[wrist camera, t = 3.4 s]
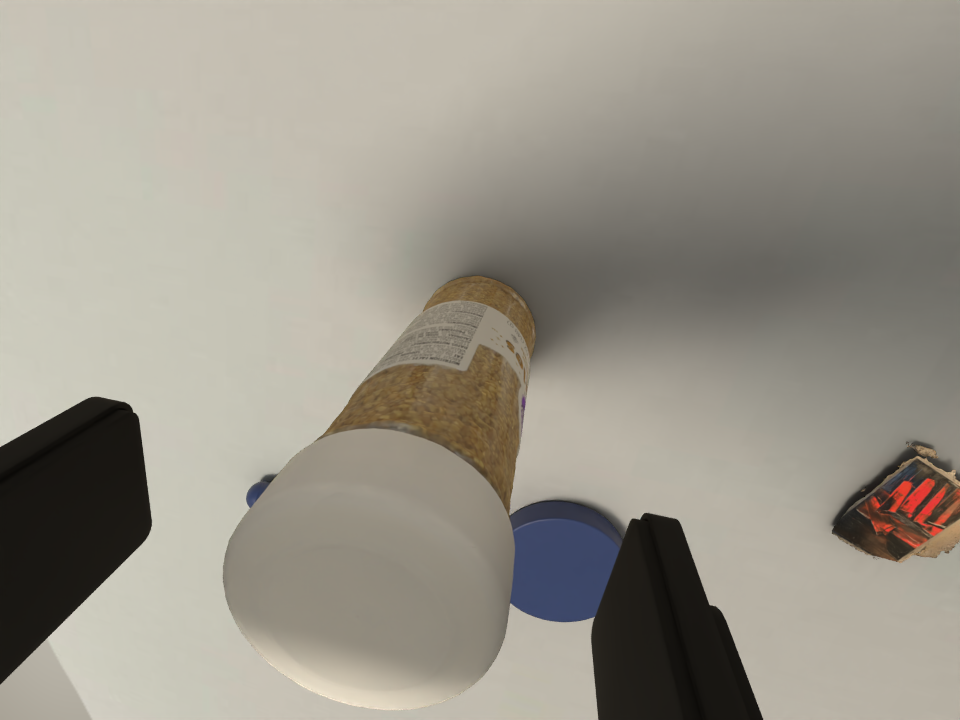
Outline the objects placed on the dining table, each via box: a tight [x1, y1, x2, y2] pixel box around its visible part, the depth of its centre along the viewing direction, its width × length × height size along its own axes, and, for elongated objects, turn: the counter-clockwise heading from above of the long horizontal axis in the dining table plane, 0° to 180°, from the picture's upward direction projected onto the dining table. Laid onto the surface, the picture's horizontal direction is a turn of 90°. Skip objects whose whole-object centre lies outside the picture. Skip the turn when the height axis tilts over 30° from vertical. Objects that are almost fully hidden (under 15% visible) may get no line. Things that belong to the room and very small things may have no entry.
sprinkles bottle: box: [223, 276, 536, 710], centre depth 14 cm, size 5×5×14 cm
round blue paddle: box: [246, 481, 623, 622], centre depth 23 cm, size 18×6×1 cm, turn 82°
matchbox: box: [832, 442, 960, 563], centre depth 20 cm, size 5×5×1 cm
